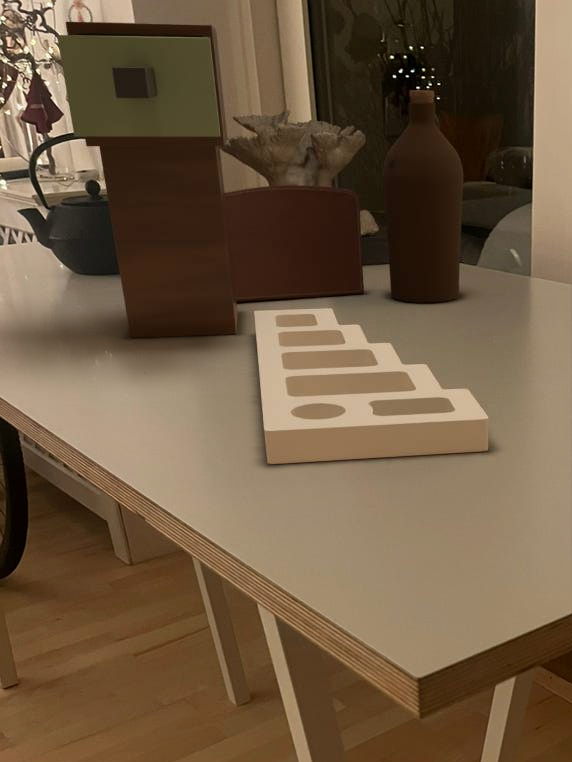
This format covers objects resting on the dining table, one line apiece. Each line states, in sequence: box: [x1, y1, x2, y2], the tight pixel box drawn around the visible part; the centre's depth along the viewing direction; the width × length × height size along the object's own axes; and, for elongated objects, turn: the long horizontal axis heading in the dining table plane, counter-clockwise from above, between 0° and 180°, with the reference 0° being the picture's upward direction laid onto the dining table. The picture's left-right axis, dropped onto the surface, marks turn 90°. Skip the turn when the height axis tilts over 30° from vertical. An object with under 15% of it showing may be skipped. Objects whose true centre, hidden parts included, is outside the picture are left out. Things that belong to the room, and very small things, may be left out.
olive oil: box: [381, 89, 464, 304], centre depth 131 cm, size 11×11×25 cm
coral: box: [220, 109, 389, 266], centre depth 158 cm, size 25×20×22 cm
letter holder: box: [225, 185, 365, 303], centre depth 135 cm, size 10×20×14 cm, turn 114°
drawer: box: [56, 34, 220, 137], centre depth 97 cm, size 23×14×8 cm, turn 11°
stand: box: [65, 21, 239, 339], centre depth 112 cm, size 14×14×31 cm
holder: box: [253, 307, 489, 465], centre depth 98 cm, size 45×18×3 cm, turn 12°
